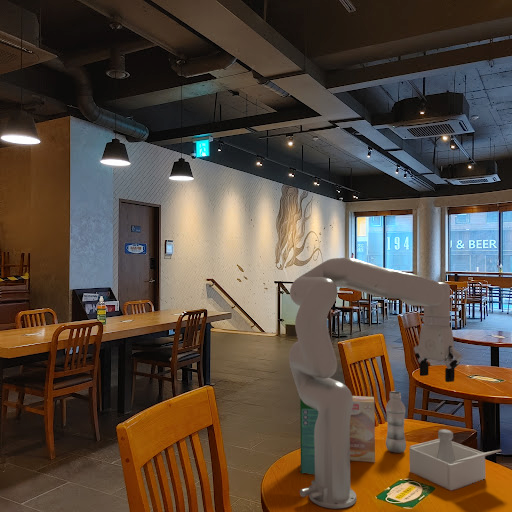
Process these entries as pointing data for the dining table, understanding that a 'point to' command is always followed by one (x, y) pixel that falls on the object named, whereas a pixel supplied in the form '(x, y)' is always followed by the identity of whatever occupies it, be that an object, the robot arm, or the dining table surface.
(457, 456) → the carton
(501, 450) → the flap
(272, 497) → the dining table surface
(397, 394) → the plastic bottle
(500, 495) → the dining table surface
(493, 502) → the dining table surface
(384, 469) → the dining table surface
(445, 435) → the salt shaker
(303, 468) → the milk carton
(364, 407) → the coffeecake box
